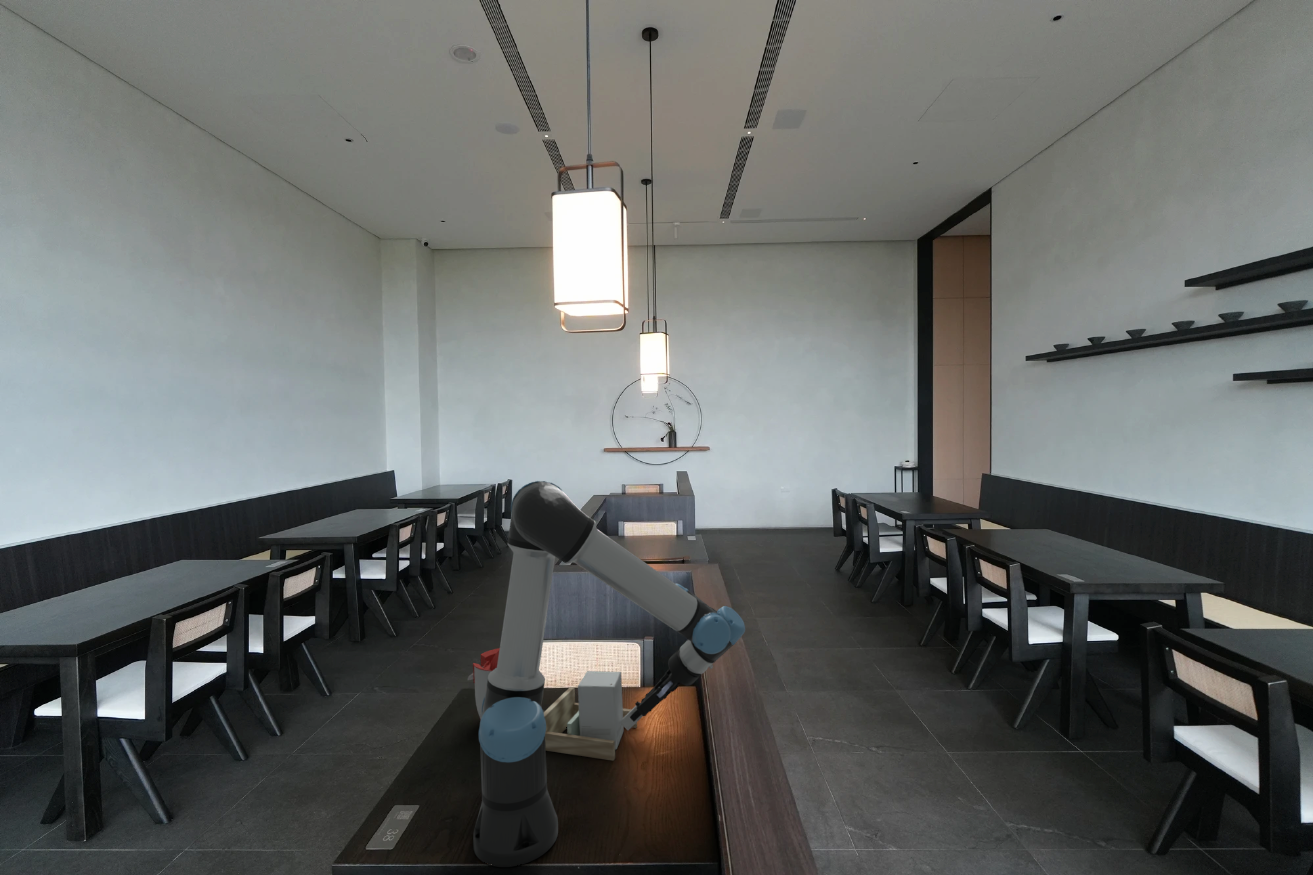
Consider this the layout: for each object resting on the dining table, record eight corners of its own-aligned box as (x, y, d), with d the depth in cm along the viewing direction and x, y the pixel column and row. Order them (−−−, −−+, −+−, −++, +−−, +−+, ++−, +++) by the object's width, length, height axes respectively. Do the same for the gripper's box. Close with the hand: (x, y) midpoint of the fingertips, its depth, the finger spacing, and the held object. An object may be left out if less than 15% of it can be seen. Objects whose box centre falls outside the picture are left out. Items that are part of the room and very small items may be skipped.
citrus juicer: (480, 709, 160) (477, 635, 159) (544, 708, 159) (541, 634, 159) (458, 739, 144) (455, 658, 144) (529, 738, 143) (526, 657, 143)
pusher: (571, 749, 137) (571, 723, 137) (568, 748, 138) (567, 723, 138) (594, 722, 150) (593, 698, 150) (591, 721, 150) (590, 698, 150)
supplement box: (624, 730, 146) (622, 670, 146) (616, 750, 137) (614, 686, 137) (589, 729, 147) (587, 669, 147) (579, 748, 138) (577, 685, 138)
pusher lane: (613, 760, 133) (612, 725, 133) (541, 749, 138) (540, 715, 138) (637, 725, 148) (636, 694, 148) (571, 717, 153) (570, 686, 153)
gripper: (695, 686, 128) (626, 751, 133) (708, 663, 141) (644, 723, 146) (671, 659, 130) (603, 725, 135) (686, 639, 142) (623, 700, 147)
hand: (625, 724), depth 140 cm, fingers closed
